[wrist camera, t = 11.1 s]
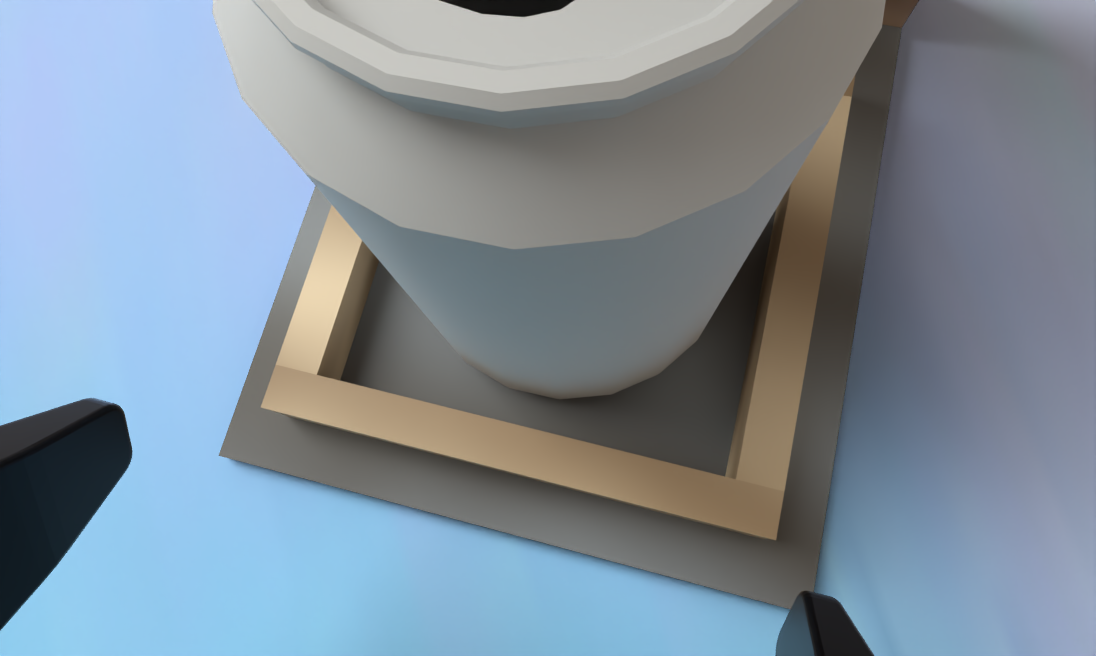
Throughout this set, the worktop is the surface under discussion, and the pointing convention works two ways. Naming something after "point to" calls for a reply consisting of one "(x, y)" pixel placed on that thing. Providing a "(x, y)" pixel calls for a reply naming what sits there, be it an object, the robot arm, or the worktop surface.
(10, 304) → the worktop surface
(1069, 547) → the worktop surface
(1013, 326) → the worktop surface
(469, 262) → the can
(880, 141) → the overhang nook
